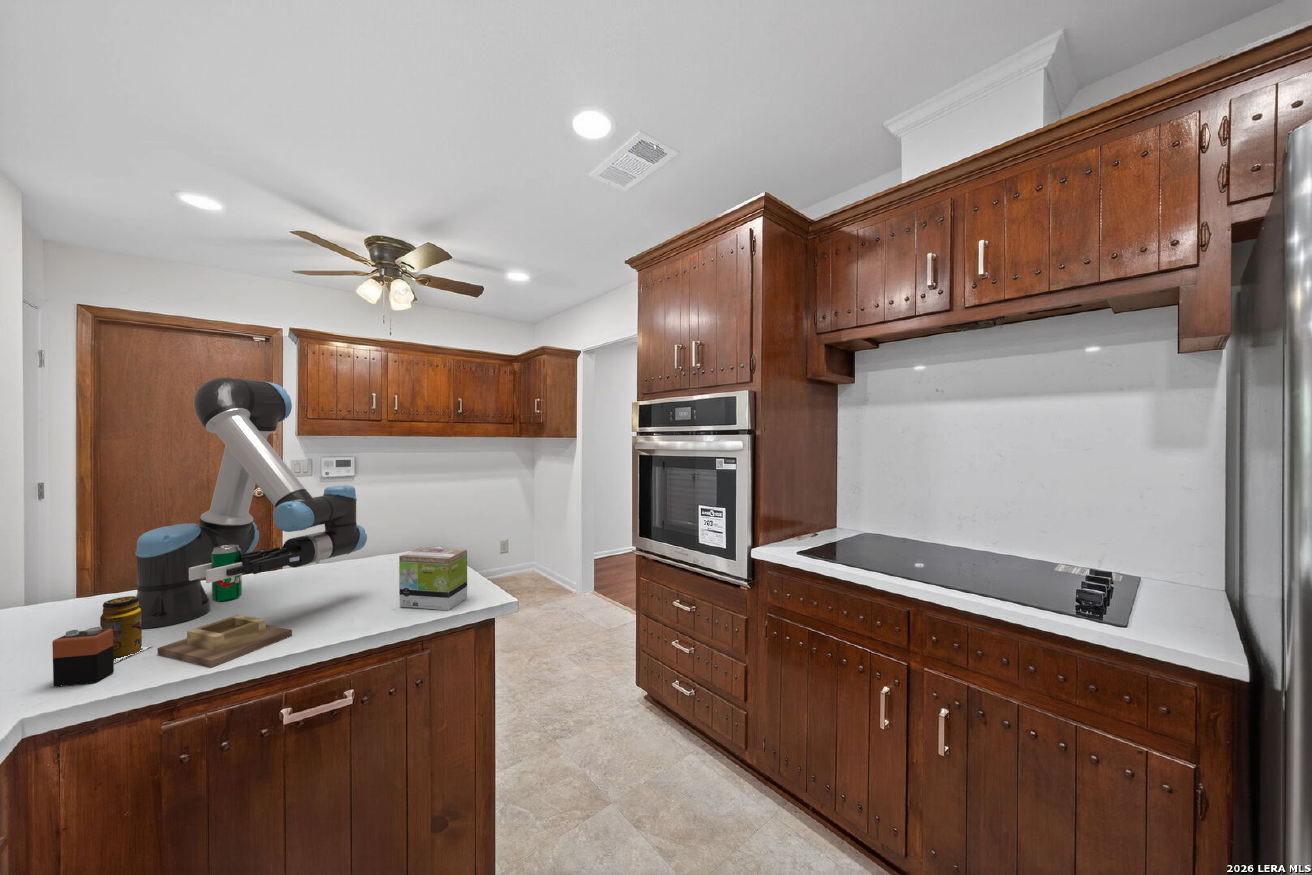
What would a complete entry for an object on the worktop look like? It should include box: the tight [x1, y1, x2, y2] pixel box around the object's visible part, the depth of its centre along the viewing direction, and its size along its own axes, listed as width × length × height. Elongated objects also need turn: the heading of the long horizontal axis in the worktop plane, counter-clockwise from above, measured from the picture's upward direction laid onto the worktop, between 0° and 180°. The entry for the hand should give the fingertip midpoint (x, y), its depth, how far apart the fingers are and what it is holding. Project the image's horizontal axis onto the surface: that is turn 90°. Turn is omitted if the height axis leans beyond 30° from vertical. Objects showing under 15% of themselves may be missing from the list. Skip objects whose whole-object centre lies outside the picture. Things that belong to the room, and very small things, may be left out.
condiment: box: [99, 595, 148, 664], centre depth 104 cm, size 7×8×12 cm
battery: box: [51, 626, 115, 687], centre depth 94 cm, size 4×7×10 cm, turn 104°
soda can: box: [211, 545, 243, 603], centre depth 109 cm, size 5×5×12 cm
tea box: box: [398, 546, 468, 612], centre depth 135 cm, size 15×10×15 cm, turn 82°
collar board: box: [156, 614, 293, 669], centre depth 109 cm, size 18×16×4 cm
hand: (198, 575), depth 104 cm, fingers closed on soda can, 5 cm apart
